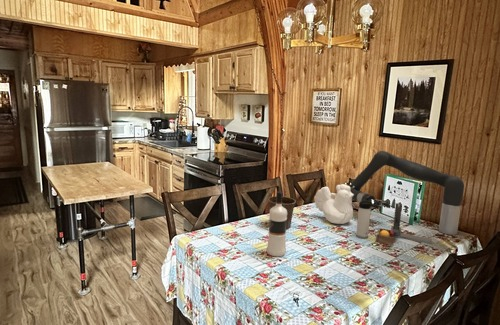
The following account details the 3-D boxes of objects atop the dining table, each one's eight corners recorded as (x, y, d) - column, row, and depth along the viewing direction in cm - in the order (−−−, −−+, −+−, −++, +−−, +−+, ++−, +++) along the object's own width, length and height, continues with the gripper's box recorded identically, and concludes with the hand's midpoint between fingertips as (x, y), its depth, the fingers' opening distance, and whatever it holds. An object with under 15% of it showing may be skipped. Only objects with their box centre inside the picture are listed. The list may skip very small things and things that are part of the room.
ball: (384, 227, 175) (391, 233, 174) (377, 233, 177) (385, 239, 176) (383, 230, 171) (391, 236, 169) (377, 236, 173) (384, 242, 171)
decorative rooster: (357, 223, 197) (360, 184, 193) (342, 229, 187) (345, 187, 183) (324, 213, 216) (327, 177, 212) (309, 217, 206) (311, 179, 202)
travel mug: (369, 239, 173) (373, 203, 170) (356, 237, 174) (360, 202, 171) (367, 234, 179) (371, 200, 176) (355, 233, 180) (358, 199, 177)
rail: (386, 232, 184) (386, 230, 183) (431, 240, 174) (431, 238, 174) (385, 235, 179) (385, 233, 179) (432, 244, 169) (432, 241, 169)
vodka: (282, 258, 146) (286, 195, 141) (263, 254, 150) (266, 193, 145) (288, 250, 155) (291, 191, 150) (270, 247, 158) (272, 188, 153)
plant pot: (298, 225, 190) (300, 199, 188) (287, 233, 177) (288, 205, 174) (274, 219, 199) (276, 194, 196) (261, 227, 185) (263, 200, 183)
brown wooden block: (377, 234, 180) (378, 227, 179) (394, 237, 176) (395, 230, 176) (376, 242, 169) (376, 234, 169) (393, 245, 166) (394, 238, 165)
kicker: (390, 232, 183) (394, 202, 180) (400, 234, 180) (404, 203, 178) (389, 241, 170) (393, 208, 167) (399, 243, 168) (403, 210, 165)
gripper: (357, 194, 199) (375, 201, 184) (375, 192, 204) (394, 200, 189) (355, 205, 201) (373, 214, 186) (374, 204, 205) (393, 212, 190)
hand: (384, 207), depth 187 cm, fingers open, 8 cm apart
